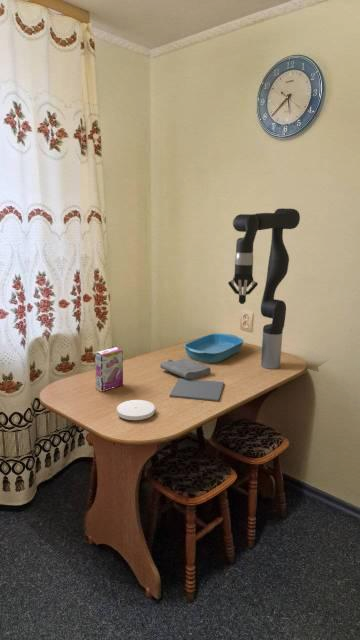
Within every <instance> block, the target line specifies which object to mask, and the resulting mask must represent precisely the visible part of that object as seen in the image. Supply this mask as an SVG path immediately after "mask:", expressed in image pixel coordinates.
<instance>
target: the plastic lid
mask: <svg viewBox="0 0 360 640" xmlns="http://www.w3.org/2000/svg"><path fill="white" fill-rule="evenodd" d="M155 408H156V406H155V405H154V403H152V402H150V401H149V400H148V401H147V400H144V399H131V400H126V401H123V402H121V403H120V404H118V405H117V407H116V414H117V416H118V417H120V418H121V419H123V420H127V421H128V420H130V421H142V420H143V421H144V420H145V419H146V420H147V419H148V418H152V417H153V415H154V414H155V410H156V409H155Z"/></svg>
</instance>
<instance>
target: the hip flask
mask: <svg viewBox="0 0 360 640" xmlns="http://www.w3.org/2000/svg"><path fill="white" fill-rule="evenodd" d="M159 368H160V369H162V370H165V371H168V372H170V373H172V374H175V375H177V376H179V377H180V378H184V379H195V380H197V379H199V378H200V379H201V378H202V377H205V376H207V375H209V374H210V373H211V371H212V370H211V368H210V366H206V365H204V364H201V363H197V362H195V361H193V360H190V359H188V358H185V357H182V358H180V359H177V360H172V359H168V360H167V361H162V362H161V363H160V366H159Z"/></svg>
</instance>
